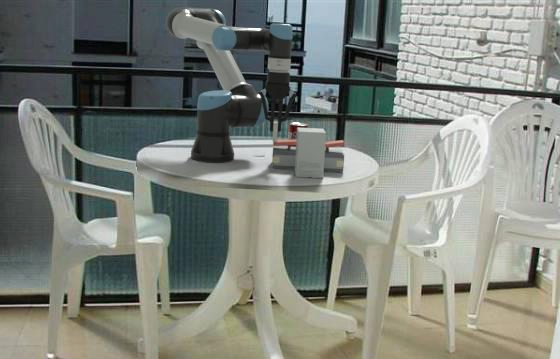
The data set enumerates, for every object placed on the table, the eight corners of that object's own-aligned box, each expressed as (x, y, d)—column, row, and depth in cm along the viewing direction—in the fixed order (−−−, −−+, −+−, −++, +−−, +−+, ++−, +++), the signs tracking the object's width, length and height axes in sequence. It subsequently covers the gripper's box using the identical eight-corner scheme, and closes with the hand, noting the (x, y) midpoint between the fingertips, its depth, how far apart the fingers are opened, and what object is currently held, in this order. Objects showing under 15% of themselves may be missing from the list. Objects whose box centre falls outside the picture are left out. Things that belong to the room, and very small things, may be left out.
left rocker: (273, 146, 232) (273, 142, 232) (273, 143, 236) (273, 140, 236) (305, 144, 232) (305, 141, 232) (305, 142, 236) (305, 139, 236)
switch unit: (271, 168, 231) (273, 147, 229) (272, 162, 241) (273, 141, 239) (343, 172, 231) (344, 151, 229) (340, 166, 241) (342, 145, 239)
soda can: (304, 158, 250) (307, 126, 247) (285, 156, 252) (287, 124, 249) (308, 155, 257) (310, 123, 254) (289, 153, 258) (291, 121, 256)
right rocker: (311, 149, 232) (311, 145, 232) (311, 147, 236) (311, 143, 236) (344, 145, 232) (344, 142, 232) (343, 143, 236) (342, 140, 236)
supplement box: (321, 172, 229) (324, 128, 226) (323, 178, 221) (326, 132, 217) (293, 171, 229) (296, 126, 226) (295, 177, 220) (298, 131, 217)
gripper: (258, 70, 225) (255, 141, 230) (298, 73, 225) (294, 144, 230) (259, 69, 232) (256, 138, 237) (298, 71, 232) (293, 140, 237)
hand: (274, 141), depth 234 cm, fingers closed
